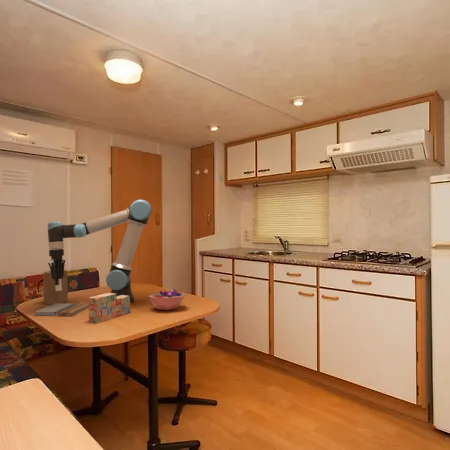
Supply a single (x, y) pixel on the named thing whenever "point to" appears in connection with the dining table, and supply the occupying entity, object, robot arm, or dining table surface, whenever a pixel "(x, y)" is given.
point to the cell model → (167, 299)
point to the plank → (53, 309)
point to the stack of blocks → (108, 306)
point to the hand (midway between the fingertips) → (58, 290)
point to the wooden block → (54, 289)
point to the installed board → (73, 310)
